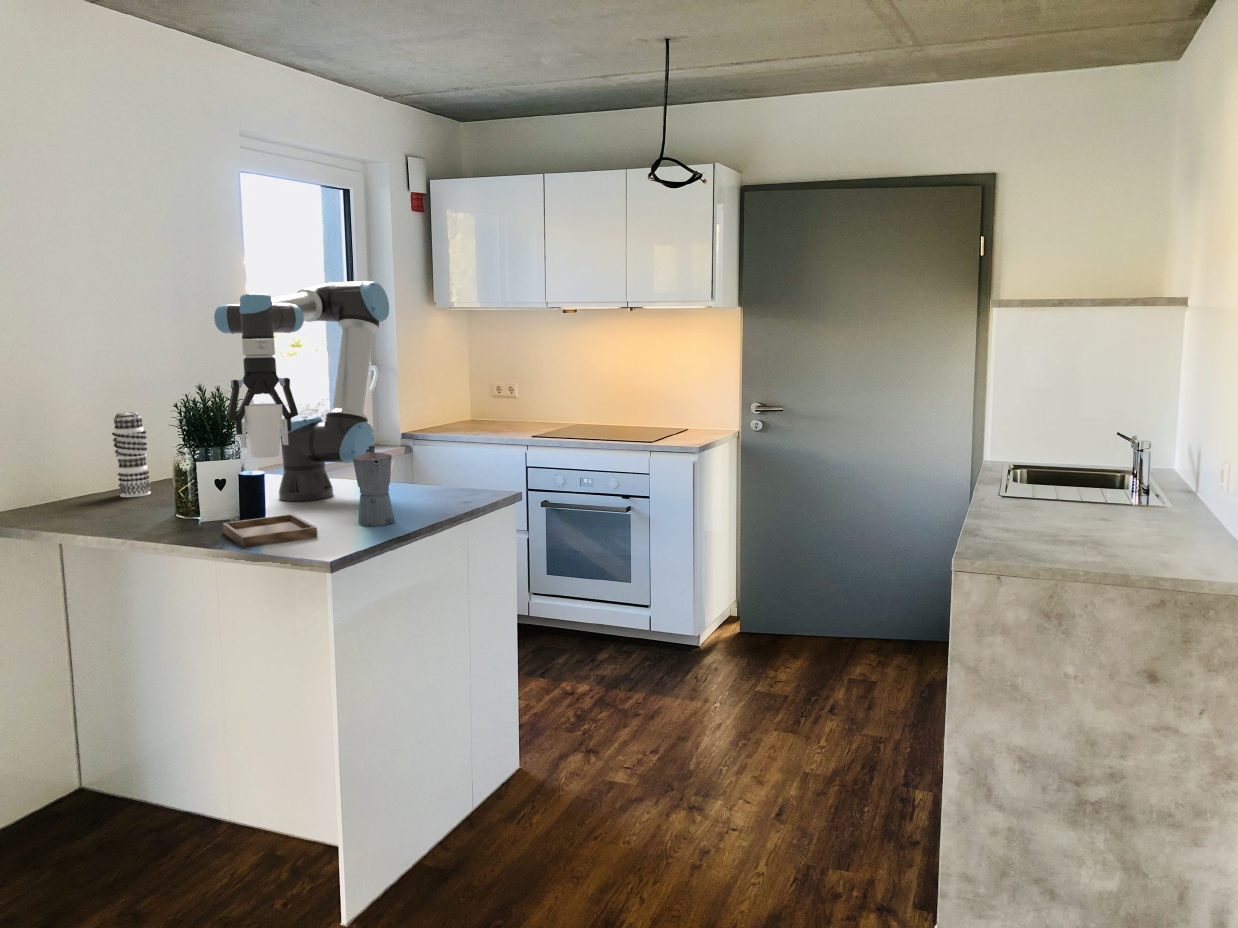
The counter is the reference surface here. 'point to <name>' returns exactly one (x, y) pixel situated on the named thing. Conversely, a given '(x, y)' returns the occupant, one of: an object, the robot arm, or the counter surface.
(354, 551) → the counter surface
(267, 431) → the foam cup
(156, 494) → the counter surface
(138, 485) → the decorative candle
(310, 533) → the walnut tray
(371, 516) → the moka pot
